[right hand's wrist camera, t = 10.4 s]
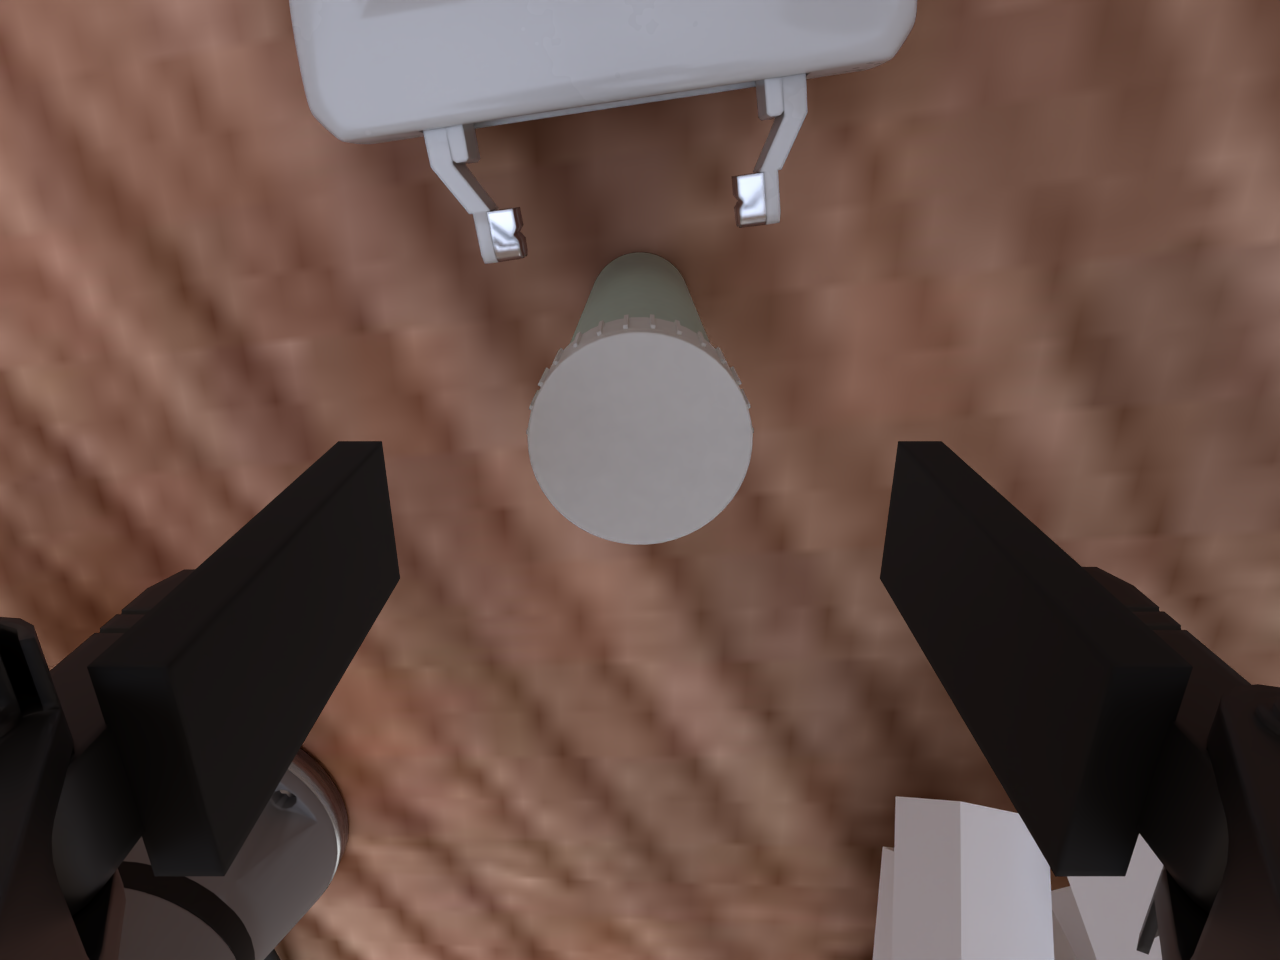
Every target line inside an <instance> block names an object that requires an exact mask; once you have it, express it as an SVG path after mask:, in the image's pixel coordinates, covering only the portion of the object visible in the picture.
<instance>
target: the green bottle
mask: <svg viewBox="0 0 1280 960" xmlns="http://www.w3.org/2000/svg"><path fill="white" fill-rule="evenodd" d="M650 314H652V315H655V318H657V319H662V320H666V321H670V322H675V320H678V321H680V325H681V326H684V327H686V328H688V329H690V330H692V331H693V332H695V333H697V332H698V331H700V332H702V334H703V337H704V339H705V340H707V341H708V342H709V340H708V337H707V335H706V332H705V330H704V327H703V325H702V322H701V320H700V317H699V315H698V313H697V310H696V308H695V305H694V303H693V300H692V298H691V295H690V293H689V290H688V288H687V286H686V283H685V281H684V279H683V277H682V275H681V274H680V272H679V271H678V270H677V269H676V268H675V267H674V266H673V265H672V264H671V263H670V262H668V261H667V260H665V259H664V258H662V257H660V256H657V255H654V254H651V253H644V252H636V253H629V254H626V255H623V256H620V257H618V258H616V259H615V260H613V261H612V262H610V263H609V264H608V265H607V266H606V267H605V268H604V269H603V270H602V271H601V273H600V274H599V275H598V277H597V279H596V281H595V283H594V286H593V288H592V291H591V293H590V295H589V298H588V300H587V303H586V305H585V308H584V310H583V313H582V315H581V318H580V320H579V323H578V325H577V327H576V330H575V332H574V335H573V337H572V340H571V342H573V341H574V340H575V337H576V335H577V333H579V332H581V333H582V334H584V333H585V332H587V331H588V330H590V329H592V328H594V327H597V326H598V324H599V322H600V321H602V320H603V321H604V323H607V322H610V321H614V320H617V319H624V315H629V318H630V317H649V318H650ZM571 342H570V343H571ZM709 343H710V342H709Z"/></svg>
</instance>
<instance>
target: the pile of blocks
mask: <svg viewBox="0 0 1280 960" xmlns="http://www.w3.org/2000/svg"><path fill="white" fill-rule="evenodd" d="M1162 868H1163V864H1162V863H1161V861H1160V860H1159V859H1158V857H1157V856H1156V855H1155V853H1154V852H1153V851H1152V849H1151V848H1150V847H1149V845H1148V844H1147V843H1146V841H1145V840H1144V839H1143V837H1142V836H1141V835H1140V833H1139V835H1138V839H1137V842H1136V845H1135V848H1134V851H1133V854H1132V857H1131V860H1130V863H1129V866H1128V869H1127V873H1126V876H1067V878H1068V881H1069V883H1070V886H1068V887H1064V888H1060V889H1056V890H1052V891H1051V880H1050V866H1049V864H1048V863H1047V861H1046V859H1045V858H1044V856H1043V854H1042V852H1041V851H1040V849H1039V847H1038V846H1037V844H1036V842H1035V841H1034V839H1033V837H1032V836H1031V834H1030V832H1029V830H1028V829H1027V827H1026V825H1025V824H1024V822H1023V820H1022V819H1021V817H1020V815H1019V813H1015V812H1010V811H1005V810H1000V809H995V808H990V807H985V806H980V805H976V804H971V803H966V802H961V801H949V800H937V799H924V798H911V797H898V796H896V801H895V843H894V848H893V847H884V846H883V849H882V860H881V871H880V883H879V894H878V905H877V916H876V927H875V938H874V950H873V960H1162V954H1161V946H1160V939H1159V936H1158V937H1156V938H1154V941H1153V944H1152V946H1151V949H1150V952H1149V955H1148V954H1145V953H1142V952H1140V951H1137V944H1138V939H1139V934H1140V931H1141V928H1142V925H1143V923H1144V920H1145V917H1146V914H1147V911H1148V908H1149V905H1150V902H1151V899H1152V897H1153V894H1154V891H1155V888H1156V885H1157V882H1158V879H1159V876H1160V873H1161V871H1162Z"/></svg>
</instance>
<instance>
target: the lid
mask: <svg viewBox="0 0 1280 960" xmlns="http://www.w3.org/2000/svg"><path fill="white" fill-rule="evenodd" d="M740 384H742V383H741V381H740V379H739V377H738V375H737V373H736V371H735V369H734V367H731V368H730V367H729V365H728V364H727V362H726V360H725V357H724V355H723V353H722V351H721V349H720V348H719V347H717V348H716V349H715V348H714V347H713V346H712V345H711V344H710V343H709V342H708V341H707V340H705V339H704V337H703V334H702V332H700V331H698V332H697V333H695V332H693V331H692V330H690V329H688V328H686V327H684V326H681V325H680V321H678V320H675V322H670V321H666V320H662V319H657V318H655V315H652V314H650V318H649V317H630V318H629V315H624V319H617V320H614V321H610V322H607V323H604V321H603V320H602V321H600V322H599V324H598V326H597V327H594V328H592V329H590V330H588V331H587V332H585V333H584V334H582V333H581V332H579V333H577V335H576V337H575V340H574V341H573V342H571V343H570V344H569V345H568V346H567V347H566V348H565V349H564V350H563V349H562V348H560V349H559V350H558V352H557V355H556V357H555V359H554V361H553V364H552V365H551V367H550V369H548V368H546V369H545V371H544V373H543V375H542V377H541V379H540V381H539V384H538V386H540V387H541V388H540V390H537V392H536V394H535V396H534V398H533V400H532V402H531V404H530V408H529V409H530V410H531V415H530V419H529V424H528V428H527V434H528V451H529V457H530V461H531V466H532V469H533V472H534V474H535V477H536V480H537V481H538V483H539V485H540V487H541V489H542V491H543V492H544V494H545V495H546V497H547V498H548V500H549V501H550V502H551V504H552V505H553V506H554V507H555V508H556V509H557V510H558V511H559V512H560V513H561V514H562V515H563V516H564V517H566V518H567V519H568V520H569V521H570V522H572V523H573V524H575V525H576V526H578V527H579V528H581V529H582V530H584V531H586V532H588V533H590V534H593V535H595V536H597V537H600V538H603V539H606V540H609V541H614V542H618V543H625V544H634V545H637V544H655V543H663V542H666V541H670V540H674V539H677V538H680V537H683V536H685V535H688V534H690V533H692V532H694V531H696V530H698V529H699V528H701V527H703V526H704V525H706V524H707V523H708V522H710V521H711V520H713V519H714V518H715V517H716V516H717V515H718V514H719V513H720V512H721V511H723V509H724V508H725V507H726V506H727V505H728V504H729V503H730V501H731V500H732V499H733V497H734V496H735V494H736V493H737V491H738V490H739V488H740V486H741V484H742V482H743V480H744V478H745V475H746V472H747V469H748V466H749V463H750V458H751V452H752V439H753V433H754V429H753V426H752V423H751V418H750V414H749V410H748V408H751V407H750V403H749V401H748V399H747V397H746V395H745V393H744V391H743V389H740V387H739V385H740Z"/></svg>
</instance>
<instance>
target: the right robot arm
mask: <svg viewBox="0 0 1280 960" xmlns="http://www.w3.org/2000/svg"><path fill="white" fill-rule="evenodd" d="M399 579H400V574H399V567H398V559H397V552H396V544H395V537H394V529H393V522H392V514H391V507H390V500H389V492H388V485H387V477H386V470H385V462H384V455H383V447H382V441H338V442H337V443H336V444H335V445H334V446H333V447H332V448H331V449H329V450H328V451H327V452H326V453H325V454H324V455H323V456H322V457H321V458H319V459H318V460H317V461H316V462H315V463H314V464H313V465H312V466H310V467H309V468H308V469H307V470H306V471H305V472H304V473H303V474H302V475H300V476H299V477H298V478H297V479H296V480H295V481H294V482H293V483H291V484H290V485H289V486H288V487H287V488H286V489H285V490H284V491H283V492H281V493H280V494H279V495H278V496H277V497H276V498H275V499H274V500H273V501H271V502H270V503H269V504H268V505H267V506H266V507H265V508H264V509H262V510H261V511H260V512H259V513H258V514H257V515H256V516H255V517H254V518H252V519H251V520H250V521H249V522H248V523H247V524H246V525H245V526H243V527H242V528H241V529H240V530H239V531H238V532H237V533H236V534H235V535H233V536H232V537H231V538H230V539H229V540H228V541H227V542H226V543H225V544H223V545H222V546H221V547H220V548H219V549H218V550H217V551H216V552H214V553H213V554H212V555H211V556H210V557H209V558H208V559H207V560H206V561H204V562H203V563H202V564H201V565H200V566H199V567H198V568H197V569H195V570H183V571H181V572H179V573H177V574H175V575H173V576H171V577H169V578H167V579H165V580H163V581H161V582H159V583H157V584H155V585H153V586H151V587H149V588H147V589H146V590H145V591H144V592H142V593H141V594H140V595H139V596H138V597H137V598H135V599H134V600H133V601H132V602H131V603H130V604H128V605H127V606H126V607H125V608H124V609H122V614H117V615H115V616H114V617H113V618H112V619H111V620H109V621H108V622H107V623H106V624H105V625H104V626H102V627H101V628H100V633H94V634H93V635H92V636H91V637H89V638H88V639H87V640H86V641H85V642H83V643H82V644H81V645H80V646H79V647H78V648H76V649H75V650H74V651H73V652H72V653H70V654H69V655H68V656H67V657H66V658H65V659H63V660H62V661H61V662H60V663H59V664H57V665H56V666H55V667H54V668H53V669H52V670H50V671H49V669H48V666H47V663H46V660H45V657H44V654H43V651H42V648H41V645H40V643H39V640H38V637H37V634H36V631H35V628H34V626H33V625H32V624H30V623H28V622H26V621H24V620H22V619H19V618H5V617H0V960H280V958H279V957H278V955H277V953H276V951H275V950H274V948H275V947H276V946H277V945H278V943H279V942H280V941H281V940H282V939H283V938H284V937H285V936H286V935H287V934H288V932H289V931H290V930H291V929H292V928H293V927H294V926H295V925H296V924H297V922H298V921H299V920H300V919H301V918H302V917H303V916H304V915H305V914H306V912H307V911H308V910H309V909H310V908H311V907H312V906H313V905H314V903H315V902H316V901H317V900H318V899H319V898H320V896H321V895H322V894H323V893H324V892H325V890H326V889H327V888H328V886H329V884H330V883H331V881H332V879H333V877H334V874H335V872H336V870H337V867H338V865H339V863H340V860H341V858H342V856H343V853H344V851H345V848H346V844H347V840H348V818H347V812H346V809H345V805H344V802H343V800H342V797H341V795H340V793H339V791H338V789H337V787H336V786H335V784H334V783H333V781H332V780H331V778H330V777H329V776H328V774H327V773H326V772H325V771H324V769H323V768H322V767H321V766H320V765H319V764H318V763H317V762H316V761H315V760H314V759H313V758H312V757H310V756H309V755H308V754H307V753H306V752H304V751H303V750H302V749H300V747H301V746H302V744H303V742H304V741H305V739H306V737H307V735H308V734H309V732H310V730H311V729H312V727H313V725H314V724H315V722H316V720H317V718H318V717H319V715H320V713H321V712H322V710H323V708H324V707H325V705H326V703H327V701H328V700H329V698H330V696H331V695H332V693H333V691H334V690H335V688H336V686H337V685H338V683H339V681H340V679H341V678H342V676H343V674H344V673H345V671H346V669H347V668H348V666H349V664H350V662H351V661H352V659H353V657H354V656H355V654H356V652H357V651H358V649H359V647H360V646H361V644H362V642H363V640H364V639H365V637H366V635H367V634H368V632H369V630H370V629H371V627H372V625H373V623H374V622H375V620H376V618H377V617H378V615H379V613H380V612H381V610H382V608H383V606H384V605H385V603H386V601H387V600H388V598H389V596H390V595H391V593H392V591H393V590H394V588H395V586H396V584H397V583H398V581H399ZM880 579H881V581H882V583H883V584H884V586H885V588H886V590H887V591H888V593H889V595H890V596H891V598H892V600H893V601H894V603H895V605H896V606H897V608H898V610H899V612H900V613H901V615H902V617H903V618H904V620H905V622H906V623H907V625H908V627H909V629H910V630H911V632H912V634H913V635H914V637H915V639H916V640H917V642H918V644H919V646H920V647H921V649H922V651H923V652H924V654H925V656H926V657H927V659H928V661H929V662H930V664H931V666H932V668H933V669H934V671H935V673H936V674H937V676H938V678H939V679H940V681H941V683H942V685H943V686H944V688H945V690H946V691H947V693H948V695H949V696H950V698H951V700H952V701H953V703H954V705H955V707H956V708H957V710H958V712H959V713H960V715H961V717H962V718H963V720H964V722H965V724H966V725H967V727H968V729H969V730H970V732H971V734H972V735H973V737H974V739H975V741H976V742H977V744H978V746H979V747H980V749H981V751H982V752H983V754H984V756H985V757H986V759H987V761H988V763H989V764H990V766H991V768H992V769H993V771H994V773H995V774H996V776H997V778H998V780H999V781H1000V783H1001V785H1002V786H1003V788H1004V790H1005V791H1006V793H1007V795H1008V796H1009V798H1010V800H1011V802H1012V803H1013V805H1014V807H1015V808H1016V810H1017V812H1018V813H1019V815H1020V817H1021V819H1022V820H1023V822H1024V824H1025V825H1026V827H1027V829H1028V830H1029V832H1030V834H1031V836H1032V837H1033V839H1034V841H1035V842H1036V844H1037V846H1038V847H1039V849H1040V851H1041V852H1042V854H1043V856H1044V858H1045V859H1046V861H1047V863H1048V864H1049V866H1050V868H1051V869H1052V871H1053V873H1054V875H1055V876H1126V873H1127V869H1128V866H1129V863H1130V860H1131V857H1132V854H1133V851H1134V848H1135V845H1136V842H1137V839H1138V835H1139V833H1140V835H1141V836H1142V837H1143V839H1144V840H1145V841H1146V843H1147V844H1148V845H1149V847H1150V848H1151V849H1152V851H1153V852H1154V853H1155V855H1156V856H1157V857H1158V859H1159V860H1160V861H1161V863H1162V864H1163V868H1162V871H1161V873H1160V876H1159V879H1158V882H1157V885H1156V888H1155V891H1154V894H1153V897H1152V899H1151V902H1150V905H1149V908H1148V911H1147V914H1146V917H1145V920H1144V923H1143V925H1142V928H1141V931H1140V934H1139V939H1138V944H1137V951H1140V952H1142V953H1145V954H1148V955H1149V952H1150V949H1151V946H1152V944H1153V941H1154V938H1156V937H1158V936H1159V939H1160V946H1161V954H1162V960H1280V687H1273V686H1266V685H1259V684H1258V685H1251V684H1250V683H1249V682H1247V681H1246V680H1245V679H1244V678H1243V677H1242V676H1240V675H1239V674H1238V673H1237V672H1236V671H1234V670H1233V669H1232V668H1231V667H1230V666H1228V665H1227V664H1226V663H1225V662H1224V661H1222V660H1221V659H1220V658H1219V657H1218V656H1217V655H1215V654H1214V653H1213V652H1212V651H1211V650H1209V649H1208V648H1207V647H1206V646H1205V645H1203V644H1202V643H1201V642H1200V641H1199V640H1197V639H1196V638H1195V637H1194V636H1193V635H1192V634H1190V633H1189V632H1188V631H1187V630H1181V625H1180V624H1178V623H1177V622H1176V621H1175V620H1174V619H1172V618H1171V617H1170V616H1169V615H1168V614H1167V613H1165V612H1160V611H1159V607H1158V606H1157V605H1156V604H1155V603H1153V602H1152V601H1151V600H1150V599H1149V598H1147V597H1146V596H1145V595H1144V594H1143V593H1142V592H1140V591H1139V590H1138V589H1137V588H1136V587H1134V586H1133V585H1131V584H1129V583H1127V582H1125V581H1123V580H1121V579H1119V578H1117V577H1115V576H1113V575H1111V574H1109V573H1107V572H1105V571H1103V570H1101V569H1099V568H1097V567H1081V566H1080V565H1079V564H1078V563H1077V562H1076V561H1074V560H1073V559H1072V558H1071V557H1070V556H1069V555H1068V554H1067V553H1066V552H1064V551H1063V550H1062V549H1061V548H1060V547H1059V546H1058V545H1057V544H1055V543H1054V542H1053V541H1052V540H1051V539H1050V538H1049V537H1048V536H1047V535H1045V534H1044V533H1043V532H1042V531H1041V530H1040V529H1039V528H1038V527H1037V526H1035V525H1034V524H1033V523H1032V522H1031V521H1030V520H1029V519H1028V518H1026V517H1025V516H1024V515H1023V514H1022V513H1021V512H1020V511H1019V510H1018V509H1016V508H1015V507H1014V506H1013V505H1012V504H1011V503H1010V502H1009V501H1007V500H1006V499H1005V498H1004V497H1003V496H1002V495H1001V494H1000V493H999V492H997V491H996V490H995V489H994V488H993V487H992V486H991V485H990V484H989V483H987V482H986V481H985V480H984V479H983V478H982V477H981V476H980V475H978V474H977V473H976V472H975V471H974V470H973V469H972V468H971V467H970V466H968V465H967V464H966V463H965V462H964V461H963V460H962V459H961V458H959V457H958V456H957V455H956V454H955V453H954V452H953V451H952V450H951V449H949V448H948V447H947V446H946V445H945V444H944V443H943V442H942V441H898V447H897V455H896V462H895V470H894V477H893V485H892V492H891V500H890V507H889V515H888V522H887V530H886V537H885V544H884V552H883V559H882V567H881V574H880Z"/></svg>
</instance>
